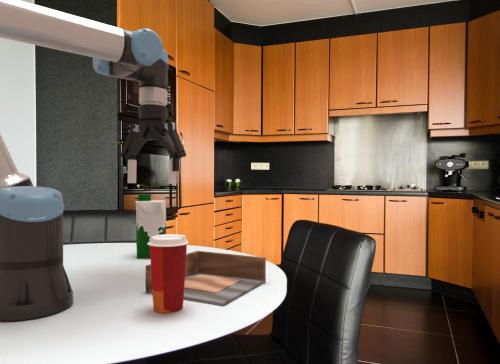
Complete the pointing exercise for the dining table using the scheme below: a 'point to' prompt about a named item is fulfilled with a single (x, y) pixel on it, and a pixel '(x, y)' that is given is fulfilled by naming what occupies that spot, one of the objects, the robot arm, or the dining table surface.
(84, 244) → the dining table surface
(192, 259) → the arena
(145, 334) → the dining table surface
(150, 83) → the robot arm
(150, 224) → the milk carton
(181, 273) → the paper cup
